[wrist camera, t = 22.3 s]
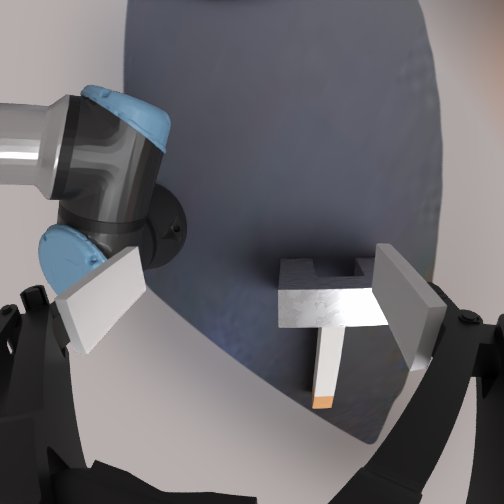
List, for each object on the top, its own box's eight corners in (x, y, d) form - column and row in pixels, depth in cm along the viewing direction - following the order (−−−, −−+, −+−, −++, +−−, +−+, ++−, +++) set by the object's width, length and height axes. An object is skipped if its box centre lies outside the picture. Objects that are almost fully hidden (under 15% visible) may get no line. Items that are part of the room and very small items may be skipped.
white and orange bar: (329, 391, 58) (331, 407, 53) (311, 392, 58) (312, 408, 54) (341, 300, 50) (346, 315, 45) (320, 301, 50) (322, 316, 46)
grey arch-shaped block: (379, 288, 48) (399, 323, 37) (281, 290, 50) (278, 327, 40) (383, 257, 46) (406, 286, 35) (280, 258, 48) (278, 289, 38)
